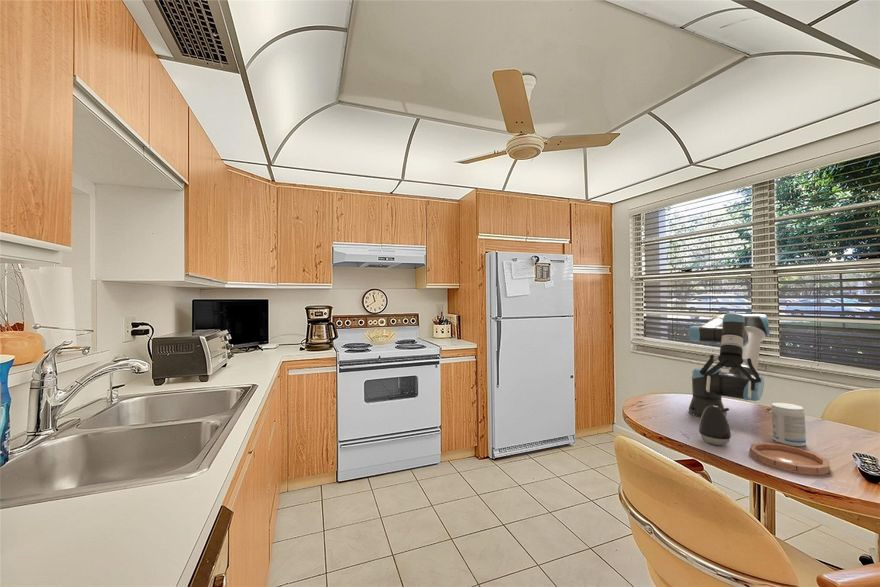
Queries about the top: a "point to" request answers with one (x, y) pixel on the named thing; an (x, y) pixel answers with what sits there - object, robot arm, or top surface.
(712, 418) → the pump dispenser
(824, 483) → the top surface
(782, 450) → the round tray
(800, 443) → the supplement tub
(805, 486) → the top surface
